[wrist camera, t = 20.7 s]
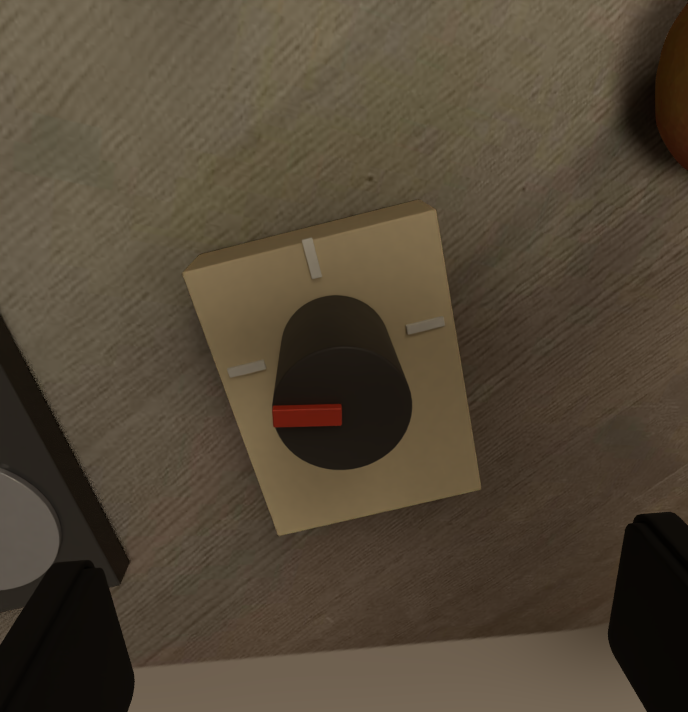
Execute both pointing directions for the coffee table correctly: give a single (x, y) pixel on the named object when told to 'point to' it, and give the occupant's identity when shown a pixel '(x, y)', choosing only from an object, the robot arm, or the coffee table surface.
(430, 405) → the panel
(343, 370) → the knob
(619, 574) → the robot arm
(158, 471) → the coffee table surface
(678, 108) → the apple
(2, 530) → the hob
